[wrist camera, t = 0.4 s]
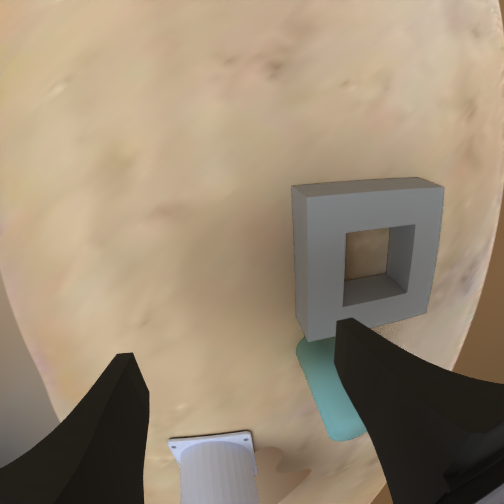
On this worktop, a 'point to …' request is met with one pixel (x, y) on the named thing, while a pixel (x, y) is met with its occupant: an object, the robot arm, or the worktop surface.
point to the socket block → (334, 241)
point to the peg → (329, 389)
